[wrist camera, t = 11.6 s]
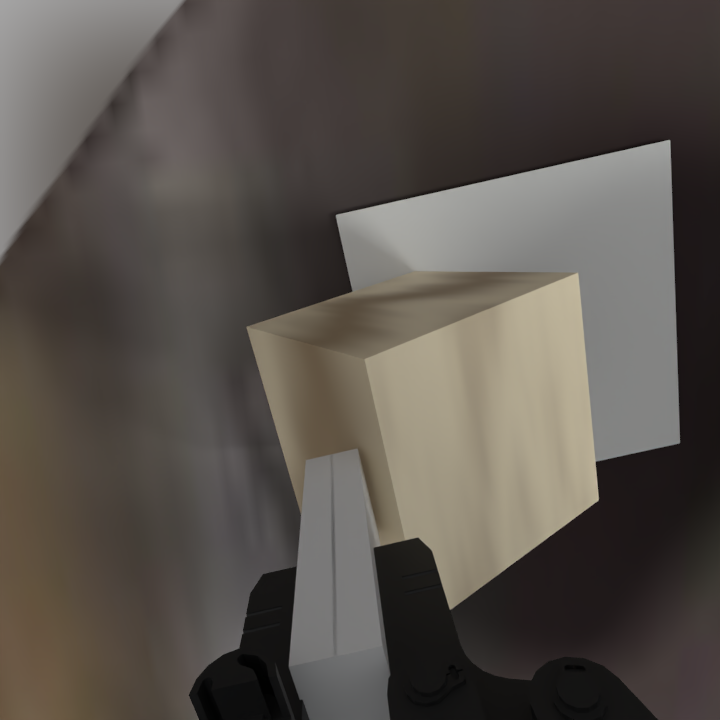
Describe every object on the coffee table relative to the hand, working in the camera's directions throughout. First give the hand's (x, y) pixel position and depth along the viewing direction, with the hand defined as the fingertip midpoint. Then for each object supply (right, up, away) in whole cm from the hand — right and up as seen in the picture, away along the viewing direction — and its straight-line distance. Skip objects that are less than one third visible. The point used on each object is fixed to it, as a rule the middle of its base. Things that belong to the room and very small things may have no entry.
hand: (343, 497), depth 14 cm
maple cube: (-1, +1, +2) cm, 2 cm away
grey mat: (+8, +5, +9) cm, 13 cm away
